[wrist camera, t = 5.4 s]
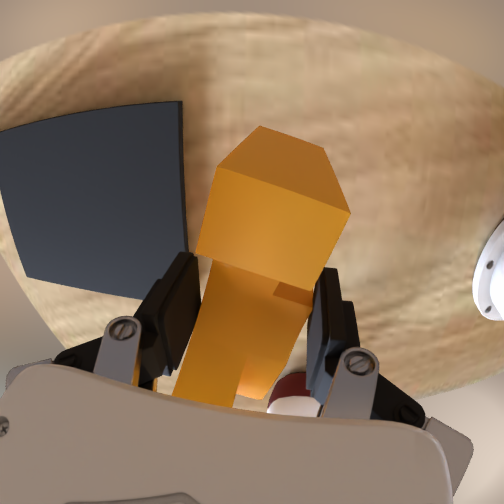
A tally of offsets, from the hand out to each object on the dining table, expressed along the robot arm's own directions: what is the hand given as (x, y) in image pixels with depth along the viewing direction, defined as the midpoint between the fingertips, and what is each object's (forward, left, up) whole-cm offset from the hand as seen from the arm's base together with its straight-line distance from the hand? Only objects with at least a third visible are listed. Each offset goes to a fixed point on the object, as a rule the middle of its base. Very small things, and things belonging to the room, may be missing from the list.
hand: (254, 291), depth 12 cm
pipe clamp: (0, 0, -2) cm, 2 cm away
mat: (+16, +1, -9) cm, 18 cm away
